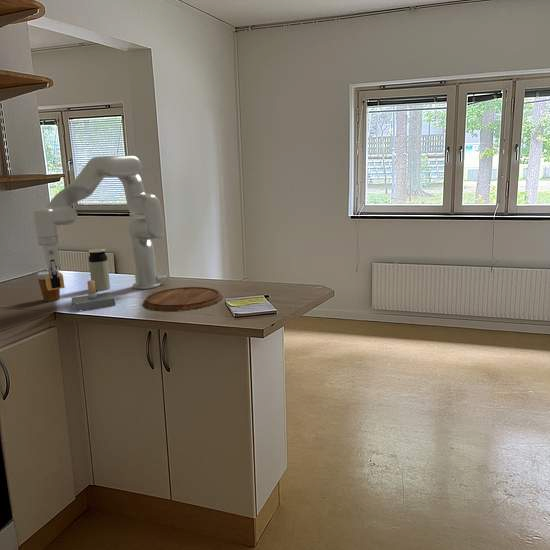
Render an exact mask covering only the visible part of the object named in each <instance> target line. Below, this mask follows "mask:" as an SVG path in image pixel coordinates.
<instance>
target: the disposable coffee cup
mask: <svg viewBox="0 0 550 550" xmlns="http://www.w3.org/2000/svg"><path fill="white" fill-rule="evenodd" d="M58 273H60V270H58ZM45 275H49V271H48V270H44V271H39V272H37V274H36V278H37V280H38V284H39V287H40V291H41V294H42V295H41V296H42V299H43V301H44V302H47V301H48V302H56V301H58V300H60V299H61V298H60V295H61V294H60V293H61V292H60V289H55V290H48V289H47V286H46V279H45Z"/></svg>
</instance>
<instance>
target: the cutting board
mask: <svg viewBox="0 0 550 550" xmlns="http://www.w3.org/2000/svg"><path fill="white" fill-rule="evenodd" d="M222 300H223V295H222V294H221V293H220V291H219V290H217V289H215V288H213V287H206V286H204V287H203V286H183V287H174V288H168V289H163V290H159V291H155V292H152V293H151V294H149V295H147V296H146V297H145V299H144V300H143V307H144V306H145V307H144V308H146V307H147V308H146V309H148V308H150V309H149V310H151V309H154V310H153V311H157V310H163V311H162V312H179V311H178V310H186V311H191V310H190V309H194V310H199V309H198V308H200V309H204V308H203V307H205V308H208V307H212V306H214V305H216V304H219V303H220V302H221V301H222ZM218 302H219V303H218ZM207 306H208V307H207Z"/></svg>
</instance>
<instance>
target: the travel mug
mask: <svg viewBox="0 0 550 550" xmlns="http://www.w3.org/2000/svg"><path fill="white" fill-rule="evenodd" d="M88 253H89V256H88V264H89V273H90V275H89V276H90V281H91V280H94V281H95V288H96V290H101V291H106V289H107V290H108V289H110V288H111V284H110V282H111V281H110V272H109V263H108V256H107V255H106V249H105V248H94V249H90V250H88Z"/></svg>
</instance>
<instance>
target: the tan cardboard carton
mask: <svg viewBox="0 0 550 550" xmlns="http://www.w3.org/2000/svg"><path fill="white" fill-rule="evenodd" d="M58 275H59V279H60V285H61V287H59V288H52V286H51V280H50V278H51V275H50V274H49V275H45V279H46V286H47V289H48V290H55V289H65V288H66V286H65V282H64V274H63V273H62V272H59V273H58Z"/></svg>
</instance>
